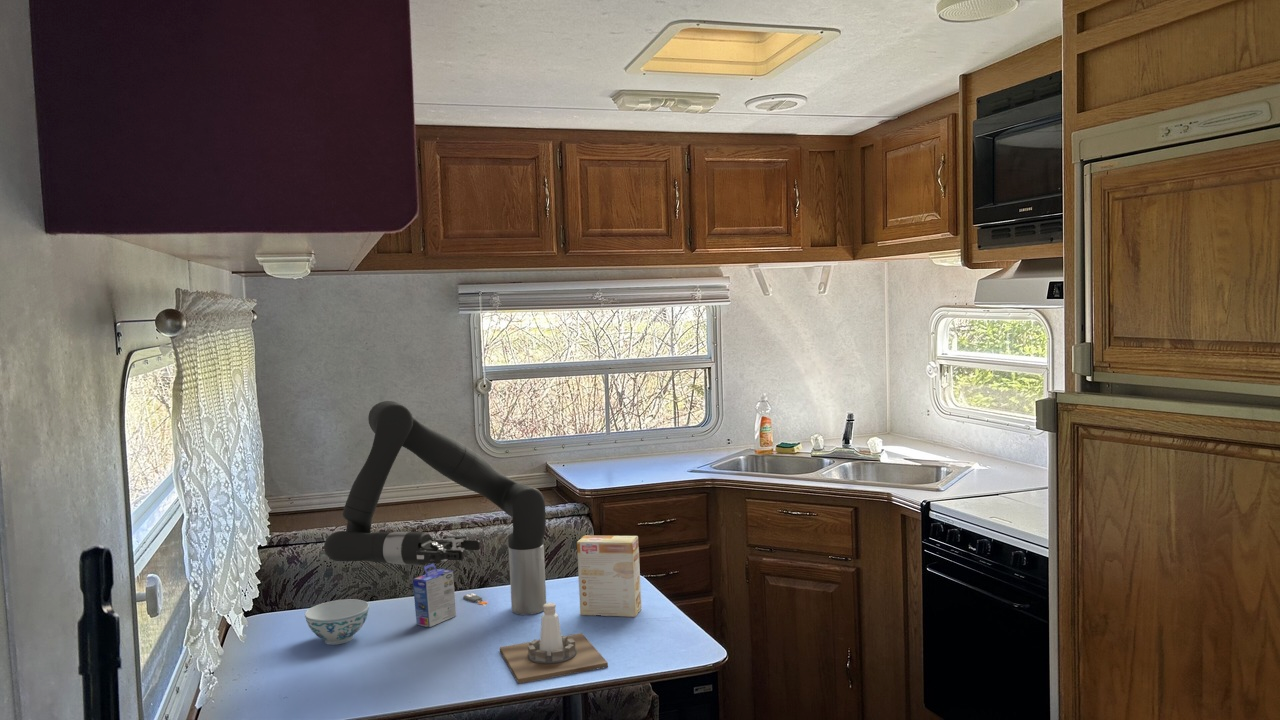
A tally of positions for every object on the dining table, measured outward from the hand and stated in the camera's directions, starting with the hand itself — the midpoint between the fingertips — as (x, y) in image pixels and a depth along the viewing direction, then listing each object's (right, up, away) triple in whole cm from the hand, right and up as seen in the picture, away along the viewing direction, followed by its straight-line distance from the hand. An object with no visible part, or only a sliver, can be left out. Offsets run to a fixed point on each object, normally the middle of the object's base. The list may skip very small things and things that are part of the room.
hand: (471, 550), depth 203 cm
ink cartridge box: (-14, -24, +28) cm, 40 cm away
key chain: (-6, -24, +41) cm, 48 cm away
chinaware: (-36, -26, +17) cm, 47 cm away
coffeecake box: (+31, -22, +28) cm, 48 cm away
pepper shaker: (+18, -23, -2) cm, 30 cm away
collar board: (+19, -24, -2) cm, 31 cm away
